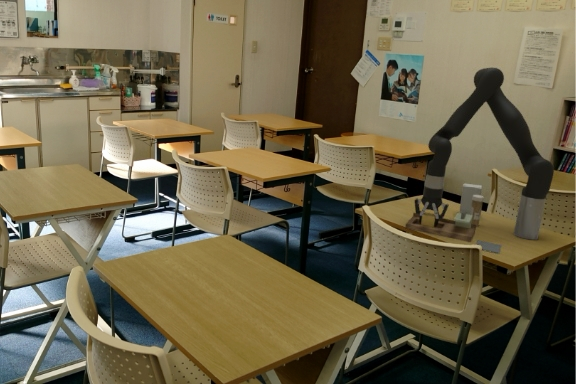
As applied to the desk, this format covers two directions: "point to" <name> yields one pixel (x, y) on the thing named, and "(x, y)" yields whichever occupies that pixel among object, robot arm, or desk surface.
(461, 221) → the lock slider
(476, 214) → the sprinkles bottle
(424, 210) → the robot arm
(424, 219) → the block
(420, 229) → the puzzle board
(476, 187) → the skincare box
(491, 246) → the mat
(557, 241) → the desk surface
